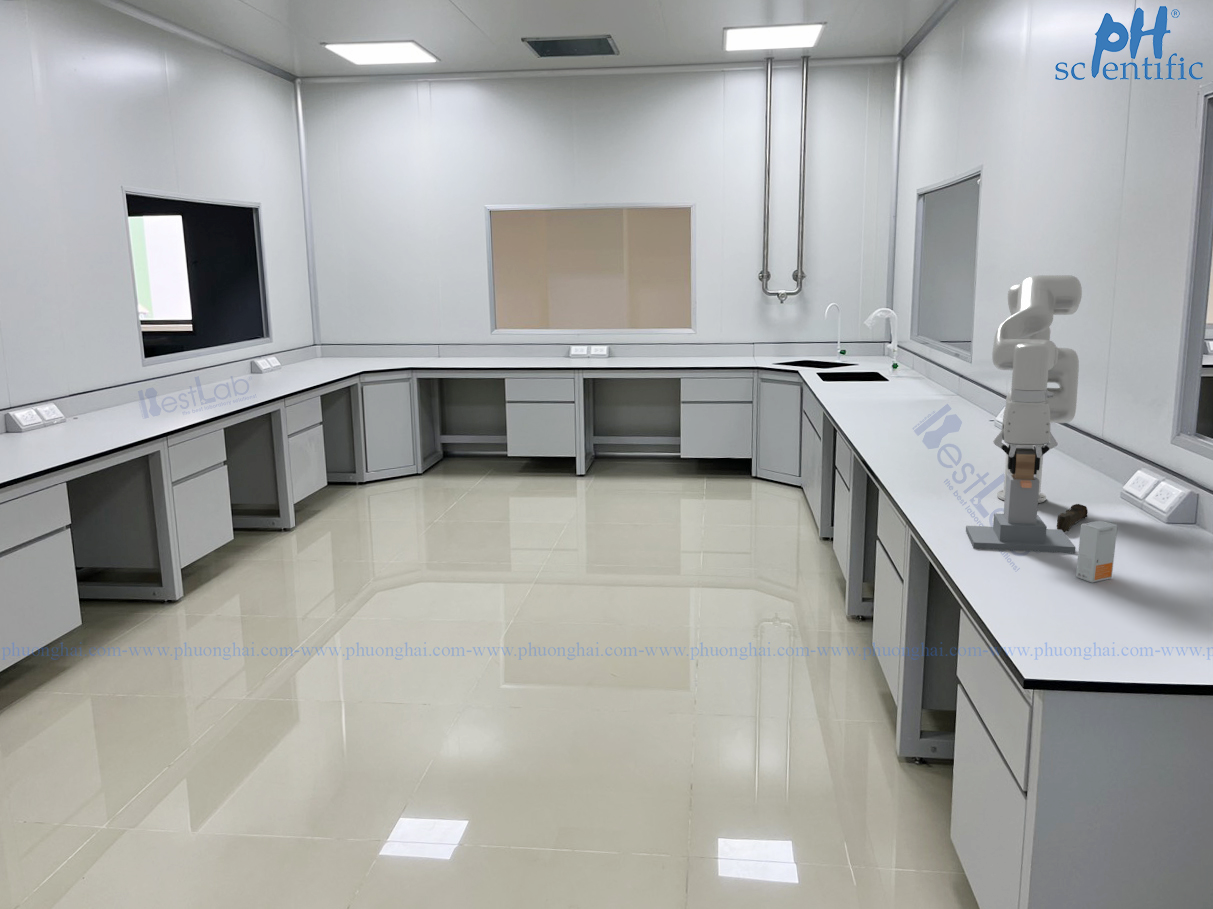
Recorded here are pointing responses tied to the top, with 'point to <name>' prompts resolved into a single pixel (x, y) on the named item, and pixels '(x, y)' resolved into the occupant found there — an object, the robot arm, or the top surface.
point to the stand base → (1020, 524)
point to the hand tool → (1071, 517)
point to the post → (1024, 464)
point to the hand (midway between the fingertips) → (1023, 472)
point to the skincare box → (1096, 551)
